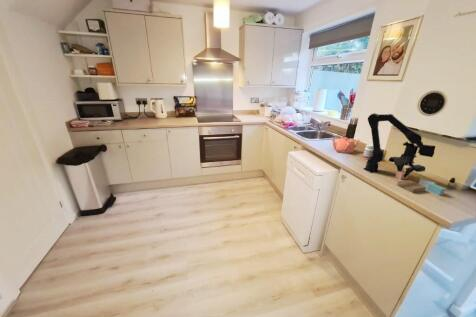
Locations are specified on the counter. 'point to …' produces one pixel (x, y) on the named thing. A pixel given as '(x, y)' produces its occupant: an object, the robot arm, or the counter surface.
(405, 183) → the walnut slab
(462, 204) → the counter surface
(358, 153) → the counter surface
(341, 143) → the pot
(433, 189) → the teal brick
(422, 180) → the grey brick
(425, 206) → the counter surface
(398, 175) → the terracotta brick
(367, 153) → the pill bottle
